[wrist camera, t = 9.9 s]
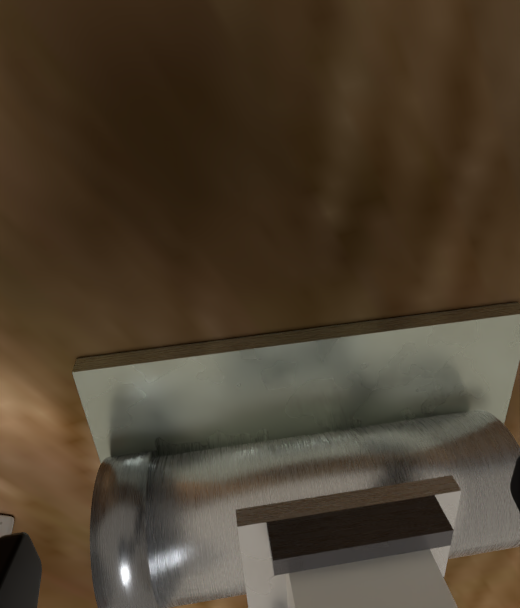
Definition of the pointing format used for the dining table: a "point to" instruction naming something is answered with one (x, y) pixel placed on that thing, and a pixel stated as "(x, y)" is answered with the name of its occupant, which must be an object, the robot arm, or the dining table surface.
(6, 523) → the supplement box
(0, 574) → the robot arm
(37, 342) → the dining table surface
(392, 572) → the off-white cube
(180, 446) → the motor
